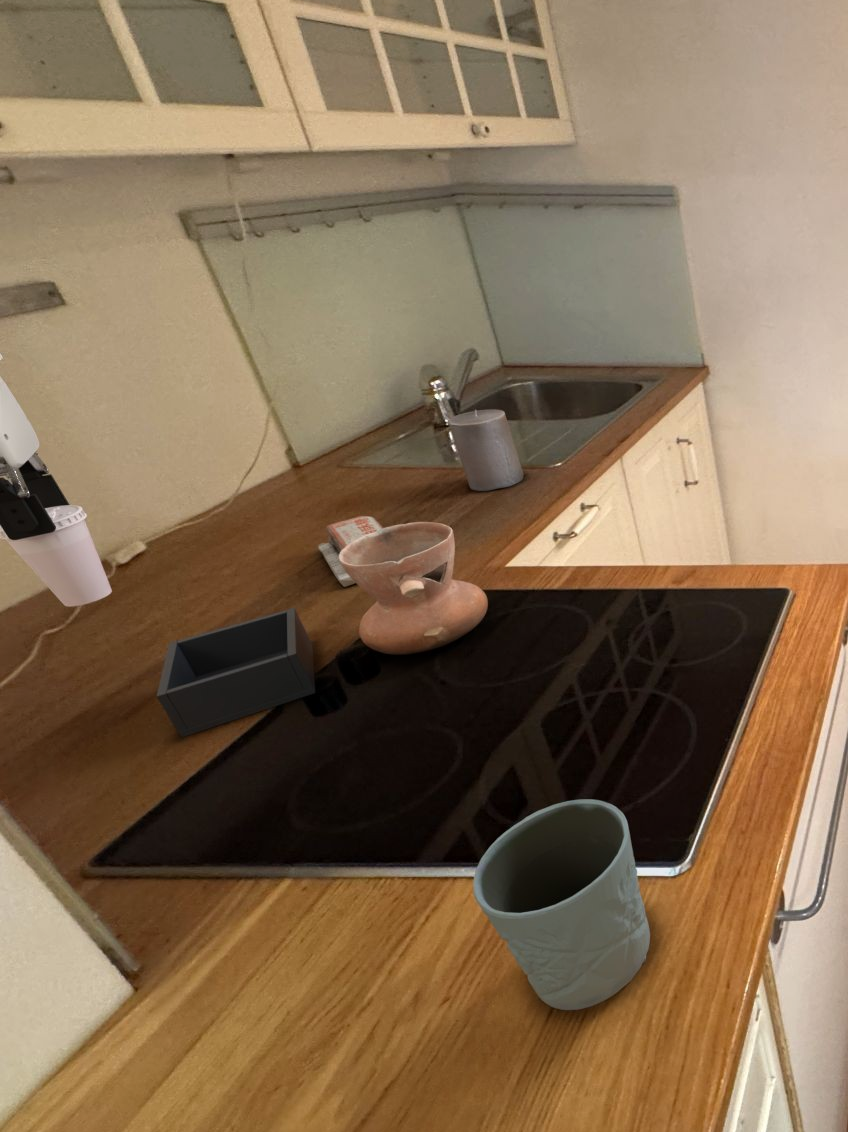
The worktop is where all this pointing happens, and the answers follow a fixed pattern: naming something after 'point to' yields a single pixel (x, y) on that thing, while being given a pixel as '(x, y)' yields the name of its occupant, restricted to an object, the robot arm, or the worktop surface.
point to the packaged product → (345, 542)
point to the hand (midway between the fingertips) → (41, 522)
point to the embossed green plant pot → (567, 901)
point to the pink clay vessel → (412, 588)
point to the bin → (236, 672)
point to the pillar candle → (486, 449)
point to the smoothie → (65, 557)
